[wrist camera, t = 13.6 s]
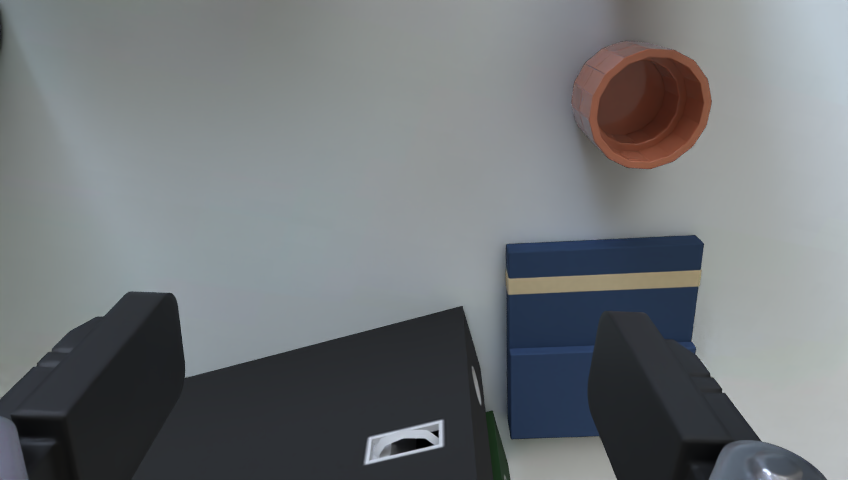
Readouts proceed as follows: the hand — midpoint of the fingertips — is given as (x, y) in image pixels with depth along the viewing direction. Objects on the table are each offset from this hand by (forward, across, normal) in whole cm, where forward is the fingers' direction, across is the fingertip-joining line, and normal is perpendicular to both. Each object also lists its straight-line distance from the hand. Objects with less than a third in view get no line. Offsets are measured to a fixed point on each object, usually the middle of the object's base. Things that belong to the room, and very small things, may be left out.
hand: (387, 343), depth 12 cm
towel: (+26, -13, +15) cm, 33 cm away
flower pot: (+26, -12, -1) cm, 28 cm away
